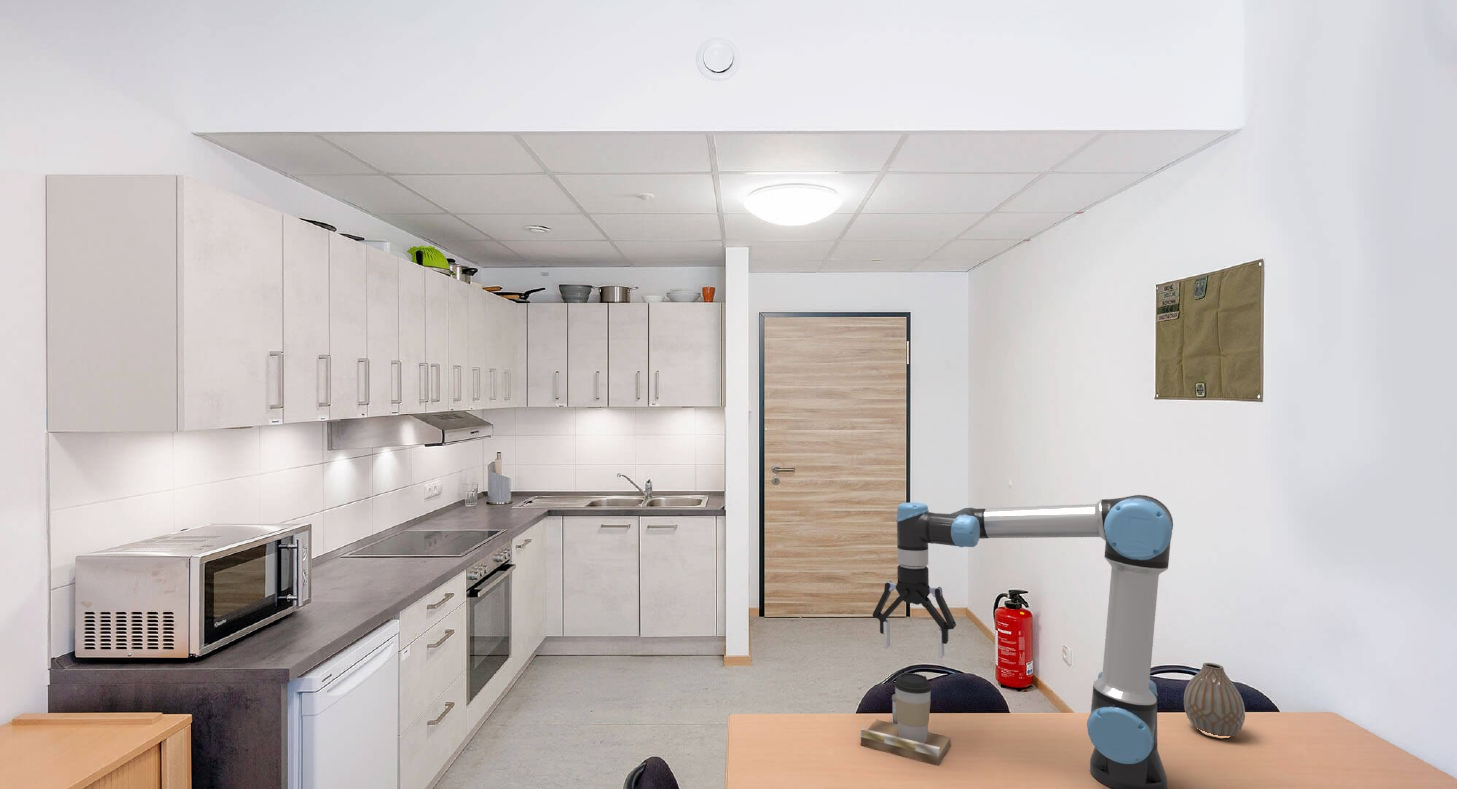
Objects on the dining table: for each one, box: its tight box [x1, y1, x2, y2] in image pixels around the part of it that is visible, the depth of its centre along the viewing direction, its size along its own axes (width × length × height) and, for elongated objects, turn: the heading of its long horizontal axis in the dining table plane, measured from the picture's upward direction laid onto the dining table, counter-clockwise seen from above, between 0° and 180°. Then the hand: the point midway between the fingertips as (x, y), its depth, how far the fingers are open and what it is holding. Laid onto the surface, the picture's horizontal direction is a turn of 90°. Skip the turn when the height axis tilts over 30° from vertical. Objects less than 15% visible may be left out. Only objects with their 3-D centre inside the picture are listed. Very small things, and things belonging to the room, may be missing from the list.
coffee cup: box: [893, 672, 933, 743], centre depth 171 cm, size 9×9×15 cm
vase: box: [1183, 662, 1246, 737], centre depth 180 cm, size 13×13×18 cm
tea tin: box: [891, 693, 898, 724], centre depth 183 cm, size 5×5×7 cm
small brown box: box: [860, 718, 952, 766], centre depth 171 cm, size 19×12×4 cm, turn 59°
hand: (913, 651), depth 171 cm, fingers open, 13 cm apart
